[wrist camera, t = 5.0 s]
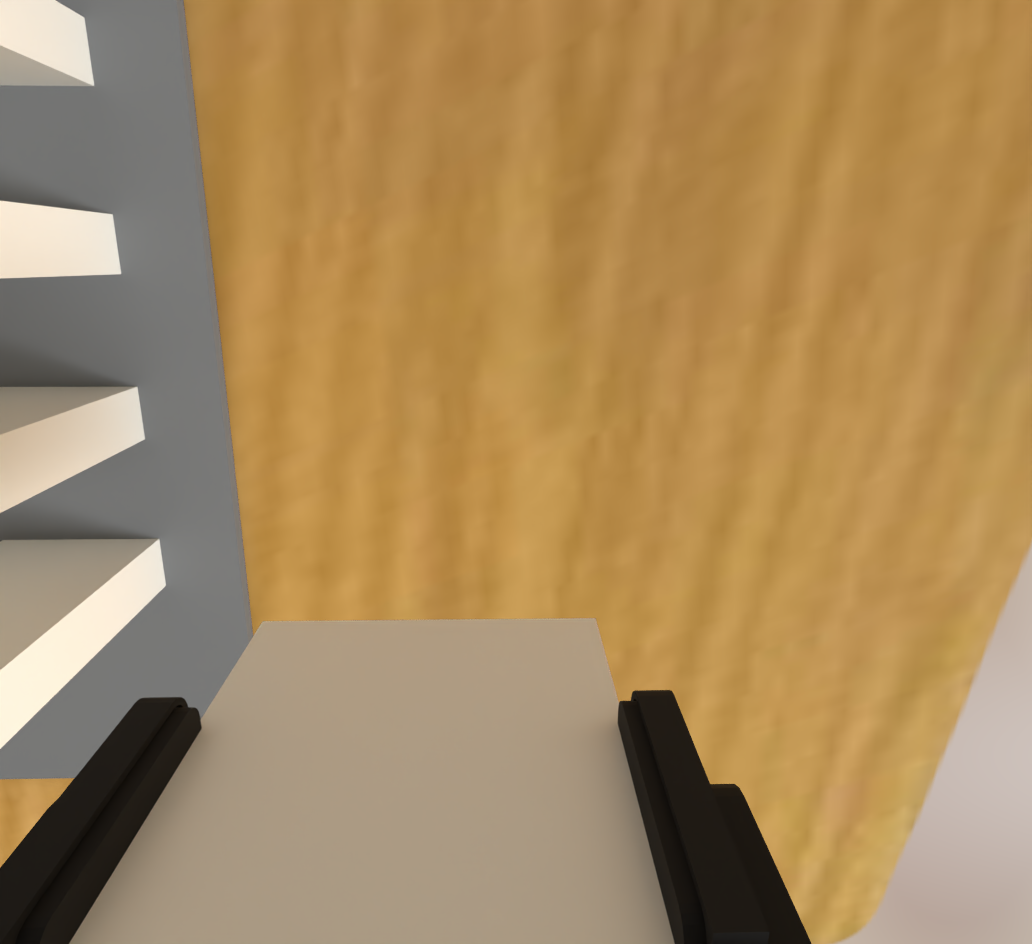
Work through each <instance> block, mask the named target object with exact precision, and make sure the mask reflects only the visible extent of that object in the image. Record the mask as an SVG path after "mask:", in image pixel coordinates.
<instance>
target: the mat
mask: <svg viewBox="0 0 1032 944" xmlns="http://www.w3.org/2000/svg"><path fill="white" fill-rule="evenodd" d="M56 1H57V2H59V3H61V4H62V5H64V6H66V7H67V8H69V9H71V10H72V11H74V12H76V13H78V14H79V15H81V16H83V17H84V18H85V25H86V32H87V39H88V46H89V53H90V60H91V67H92V74H93V81H94V86H11V85H0V201H8V202H16V203H24V204H32V205H41V206H49V207H57V208H65V209H73V210H82V211H90V212H98V213H106V214H113V220H114V227H115V234H116V241H117V248H118V255H119V262H120V269H121V274H112V275H84V276H56V277H28V278H1V279H0V387H138V394H139V401H140V408H141V415H142V422H143V429H144V436H145V440H143V441H141V442H139V443H137V444H135V445H133V446H131V447H129V448H127V449H125V450H123V451H121V452H119V453H117V454H115V455H113V456H111V457H109V458H107V459H105V460H103V461H101V462H100V463H98V464H96V465H94V466H92V467H90V468H88V469H86V470H84V471H82V472H80V473H78V474H76V475H74V476H72V477H70V478H68V479H66V480H64V481H62V482H60V483H58V484H56V485H54V486H52V487H50V488H48V489H47V490H45V491H43V492H41V493H39V494H37V495H35V496H33V497H31V498H29V499H27V500H25V501H23V502H21V503H19V504H17V505H15V506H13V507H11V508H9V509H7V510H5V511H3V512H1V513H0V542H1V541H2V540H62V539H159V540H160V547H161V554H162V561H163V568H164V575H165V582H166V586H165V587H164V588H163V589H162V590H161V591H160V592H159V593H158V594H157V595H156V596H155V597H154V598H153V599H152V600H151V601H150V602H149V603H148V604H147V605H146V606H145V607H144V608H143V609H142V610H141V611H140V612H139V613H138V614H137V615H136V616H135V617H134V618H133V619H132V620H131V621H130V622H129V623H127V624H126V625H125V626H124V627H123V628H122V629H121V630H120V631H119V632H118V633H117V634H116V635H115V636H114V637H113V638H112V639H111V640H110V641H109V642H108V643H107V644H106V645H105V646H104V647H103V648H102V649H101V650H100V651H99V652H98V653H97V654H96V655H95V656H94V657H93V658H92V659H91V660H90V661H89V662H88V663H87V664H86V665H85V666H84V667H83V668H82V669H81V670H80V671H79V672H78V673H77V674H76V675H75V676H74V677H73V678H72V679H71V680H70V681H69V682H68V683H67V684H66V685H65V686H64V687H63V688H62V689H61V690H60V691H59V692H58V693H57V694H56V695H54V696H53V697H52V698H51V699H50V700H49V701H48V702H47V703H46V704H45V705H44V706H43V707H42V708H41V709H40V710H39V711H38V712H37V713H36V714H35V715H34V716H33V717H32V718H31V719H30V720H29V721H28V722H27V723H26V724H25V725H24V726H23V727H22V728H21V729H20V730H19V731H18V732H17V733H16V734H15V735H14V736H13V737H12V738H11V739H10V740H9V741H8V742H7V743H6V744H5V745H4V746H3V747H2V748H1V749H0V779H42V778H75V777H76V776H77V775H78V774H79V772H80V771H81V770H82V769H83V767H84V766H85V765H86V764H87V762H88V761H89V760H90V759H91V757H92V756H93V755H94V754H95V752H96V751H97V750H98V749H99V747H100V746H101V745H102V744H103V742H104V741H105V740H106V739H107V737H108V736H109V735H110V734H111V732H112V731H113V730H114V729H115V727H116V726H117V725H118V724H119V722H120V721H121V720H122V719H123V717H124V716H125V715H126V714H127V712H128V711H129V710H130V709H131V707H132V706H133V705H134V704H135V702H137V701H138V700H139V699H140V698H149V697H182V698H184V699H185V700H186V702H187V704H188V707H195V708H197V709H198V711H199V714H200V719H201V718H202V717H203V715H204V714H205V712H206V710H207V709H208V707H209V706H210V704H211V703H212V701H213V699H214V698H215V696H216V695H217V693H218V691H219V690H220V688H221V687H222V685H223V684H224V682H225V680H226V679H227V677H228V676H229V674H230V672H231V671H232V669H233V668H234V666H235V665H236V663H237V661H238V660H239V658H240V657H241V655H242V653H243V652H244V650H245V649H246V647H247V646H248V644H249V642H250V641H251V639H252V638H253V631H252V622H251V613H250V604H249V595H248V585H247V576H246V567H245V558H244V549H243V540H242V531H241V522H240V512H239V503H238V494H237V485H236V476H235V467H234V458H233V449H232V439H231V430H230V421H229V412H228V403H227V394H226V385H225V376H224V367H223V357H222V348H221V339H220V330H219V321H218V312H217V303H216V294H215V284H214V275H213V266H212V257H211V248H210V239H209V230H208V221H207V212H206V202H205V193H204V184H203V175H202V166H201V157H200V148H199V139H198V129H197V120H196V111H195V102H194V93H193V84H192V75H191V66H190V57H189V47H188V38H187V29H186V20H185V11H184V2H183V0H56Z"/></svg>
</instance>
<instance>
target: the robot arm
mask: <svg viewBox="0 0 1032 944" xmlns="http://www.w3.org/2000/svg"><path fill="white" fill-rule="evenodd" d="M618 727H619V731H620V734H621V738H622V742H623V746H624V750H625V754H626V758H627V761H628V765H629V769H630V773H631V777H632V781H633V785H634V789H635V792H636V796H637V800H638V804H639V808H640V812H641V816H642V819H643V823H644V827H645V831H646V835H647V839H648V843H649V846H650V850H651V854H652V858H653V862H654V866H655V870H656V874H657V877H658V881H659V885H660V889H661V893H662V897H663V901H664V904H665V908H666V912H667V916H668V920H669V924H670V928H671V931H672V935H673V939H674V943H675V944H811V942H810V939H809V937H808V935H807V933H806V931H805V929H804V926H803V924H802V922H801V920H800V918H799V915H798V913H797V911H796V909H795V907H794V904H793V902H792V900H791V898H790V896H789V894H788V891H787V889H786V887H785V885H784V883H783V880H782V878H781V876H780V874H779V872H778V869H777V867H776V865H775V863H774V861H773V858H772V856H771V854H770V852H769V850H768V848H767V845H766V843H765V841H764V839H763V837H762V834H761V832H760V830H759V828H758V826H757V823H756V821H755V819H754V817H753V815H752V813H751V810H750V808H749V806H748V804H747V802H746V799H745V797H744V795H743V794H742V792H741V790H740V788H739V787H738V786H736V785H735V784H710V783H709V781H708V778H707V776H706V773H705V771H704V768H703V766H702V763H701V761H700V758H699V756H698V753H697V751H696V748H695V746H694V743H693V741H692V738H691V736H690V733H689V731H688V728H687V726H686V723H685V721H684V719H683V716H682V714H681V711H680V709H679V706H678V704H677V701H676V699H675V696H674V694H673V692H672V691H670V690H650V691H633V693H632V697H631V701H620V702H619V707H618ZM201 729H202V726H201V719H200V714H199V711H198V709H197V708H195V707H188V704H187V702H186V700H185V699H184V698H182V697H149V698H140V699H139V700H138V701H137V702H135V704H134V705H133V706H132V707H131V709H130V710H129V711H128V712H127V714H126V715H125V716H124V717H123V719H122V720H121V721H120V722H119V724H118V725H117V726H116V727H115V729H114V730H113V731H112V732H111V734H110V735H109V736H108V737H107V739H106V740H105V741H104V742H103V744H102V745H101V746H100V747H99V749H98V750H97V751H96V752H95V754H94V755H93V756H92V757H91V759H90V760H89V761H88V762H87V764H86V765H85V766H84V767H83V769H82V770H81V771H80V772H79V774H78V775H77V776H76V777H75V779H74V780H73V781H72V782H71V784H70V785H69V786H68V787H67V789H66V790H65V791H64V792H63V794H62V795H61V796H60V797H59V799H57V800H56V801H55V802H54V803H53V804H52V805H51V806H50V807H49V808H48V809H47V811H46V812H45V813H44V814H43V816H42V817H41V818H40V819H39V821H38V822H37V823H36V824H35V826H34V827H33V828H32V829H31V831H30V832H29V833H28V834H27V835H26V837H25V838H24V839H23V840H22V842H21V843H20V844H19V845H18V847H17V848H16V849H15V850H14V852H13V853H12V854H11V855H10V857H9V858H8V859H7V860H6V862H5V863H4V864H3V865H2V867H1V868H0V944H69V943H70V941H71V940H72V938H73V937H74V935H75V933H76V932H77V930H78V928H79V927H80V925H81V924H82V922H83V920H84V919H85V917H86V915H87V914H88V912H89V911H90V909H91V907H92V906H93V904H94V902H95V901H96V899H97V898H98V896H99V894H100V893H101V891H102V890H103V888H104V886H105V885H106V883H107V881H108V880H109V878H110V877H111V875H112V873H113V872H114V870H115V868H116V867H117V865H118V864H119V862H120V860H121V859H122V857H123V855H124V854H125V852H126V851H127V849H128V847H129V846H130V844H131V842H132V841H133V839H134V838H135V836H136V834H137V833H138V831H139V830H140V828H141V826H142V825H143V823H144V821H145V820H146V818H147V817H148V815H149V813H150V812H151V810H152V808H153V807H154V805H155V804H156V802H157V800H158V799H159V797H160V795H161V794H162V792H163V791H164V789H165V787H166V786H167V784H168V782H169V781H170V779H171V778H172V776H173V774H174V773H175V771H176V770H177V768H178V766H179V765H180V763H181V761H182V760H183V758H184V757H185V755H186V753H187V752H188V750H189V748H190V747H191V745H192V744H193V742H194V740H195V739H196V737H197V735H198V734H199V732H200V731H201Z"/></svg>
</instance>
